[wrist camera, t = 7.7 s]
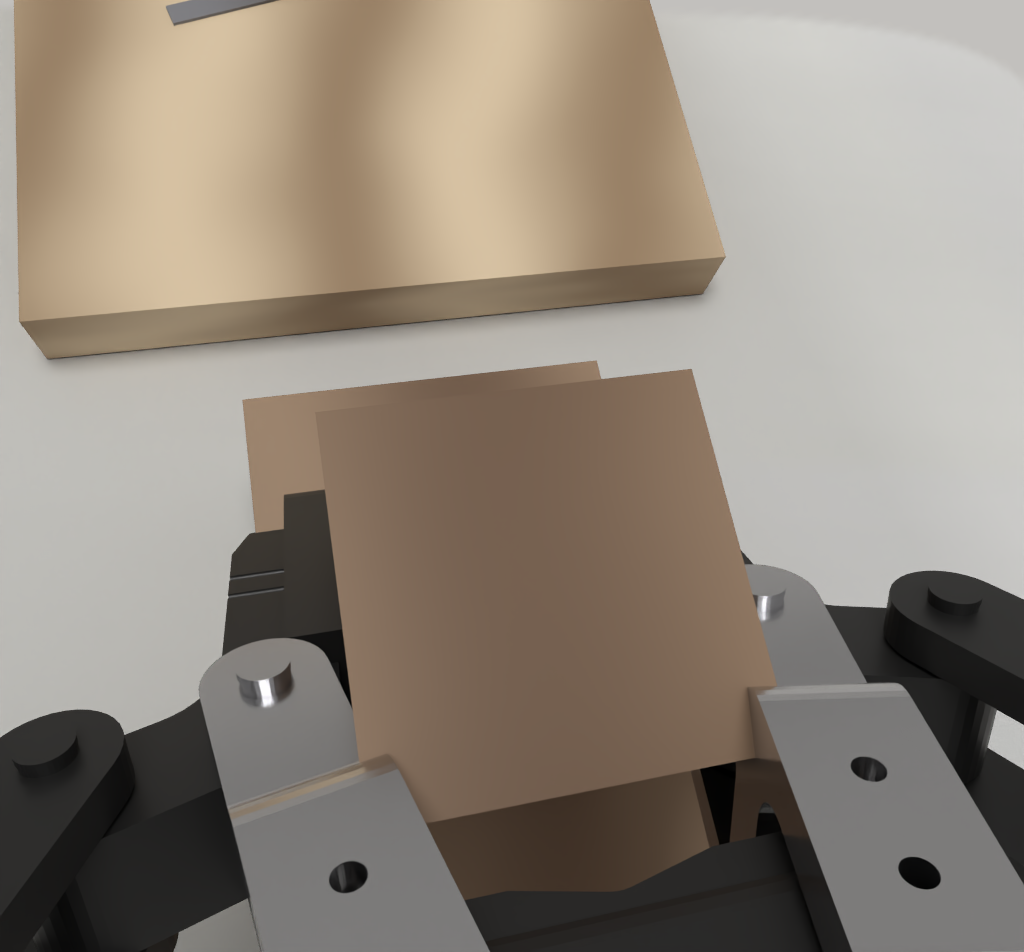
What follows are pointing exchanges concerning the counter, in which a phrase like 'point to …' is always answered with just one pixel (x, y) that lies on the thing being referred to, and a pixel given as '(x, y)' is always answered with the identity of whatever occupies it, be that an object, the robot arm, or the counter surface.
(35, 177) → the oak board
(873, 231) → the counter surface
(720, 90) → the counter surface
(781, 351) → the counter surface
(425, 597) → the block
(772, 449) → the counter surface
